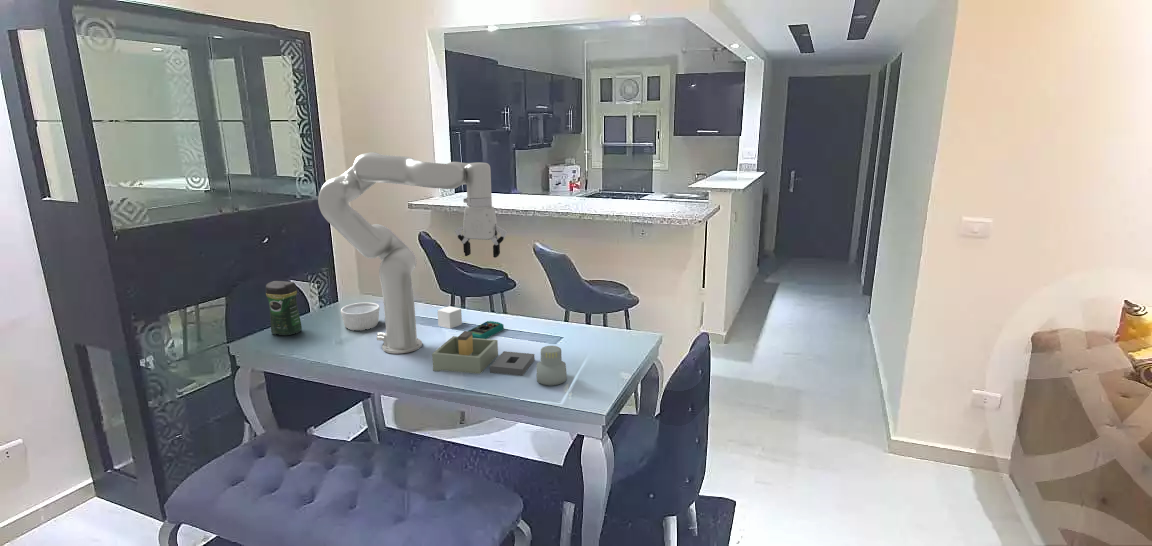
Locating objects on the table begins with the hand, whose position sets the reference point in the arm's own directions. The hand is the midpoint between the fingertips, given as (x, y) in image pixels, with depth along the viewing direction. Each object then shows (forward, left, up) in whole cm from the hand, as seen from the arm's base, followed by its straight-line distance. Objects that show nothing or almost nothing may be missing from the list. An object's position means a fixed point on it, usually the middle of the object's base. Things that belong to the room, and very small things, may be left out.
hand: (481, 255), depth 195 cm
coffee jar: (-73, -4, -31) cm, 79 cm away
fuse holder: (+15, -16, -30) cm, 37 cm away
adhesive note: (-20, +16, -31) cm, 40 cm away
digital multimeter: (-4, +10, -31) cm, 33 cm away
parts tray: (0, -16, -30) cm, 34 cm away
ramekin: (-51, +8, -31) cm, 60 cm away
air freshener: (+29, -23, -31) cm, 48 cm away
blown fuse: (0, -16, -30) cm, 34 cm away
